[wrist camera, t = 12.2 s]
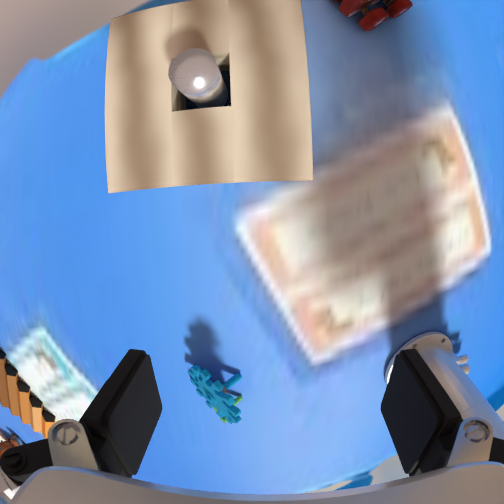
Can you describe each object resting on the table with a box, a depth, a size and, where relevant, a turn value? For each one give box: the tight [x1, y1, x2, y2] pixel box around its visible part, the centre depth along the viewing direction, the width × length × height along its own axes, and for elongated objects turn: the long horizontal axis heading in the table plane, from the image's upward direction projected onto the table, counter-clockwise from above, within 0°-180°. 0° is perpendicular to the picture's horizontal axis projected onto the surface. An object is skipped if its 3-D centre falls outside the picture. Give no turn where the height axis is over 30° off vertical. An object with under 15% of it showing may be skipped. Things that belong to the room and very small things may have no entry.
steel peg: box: [168, 48, 228, 109], centre depth 25 cm, size 4×4×10 cm
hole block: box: [105, 0, 313, 193], centre depth 27 cm, size 20×20×6 cm
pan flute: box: [0, 350, 55, 439], centre depth 43 cm, size 25×3×25 cm
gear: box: [188, 365, 243, 424], centre depth 38 cm, size 11×6×10 cm
